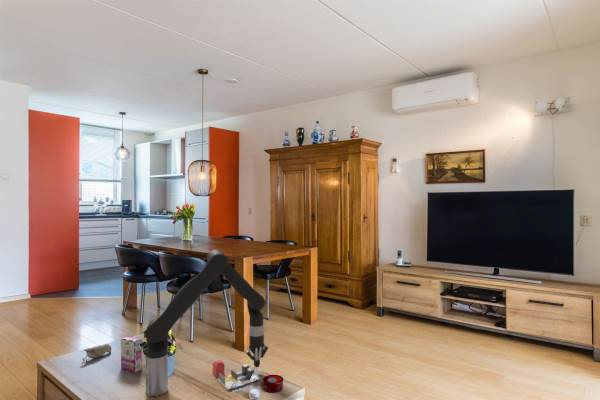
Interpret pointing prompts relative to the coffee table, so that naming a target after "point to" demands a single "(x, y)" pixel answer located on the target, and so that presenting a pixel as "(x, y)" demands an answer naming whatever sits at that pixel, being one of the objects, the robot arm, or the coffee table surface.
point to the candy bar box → (131, 354)
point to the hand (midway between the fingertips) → (257, 366)
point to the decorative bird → (97, 351)
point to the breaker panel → (232, 379)
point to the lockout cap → (218, 368)
